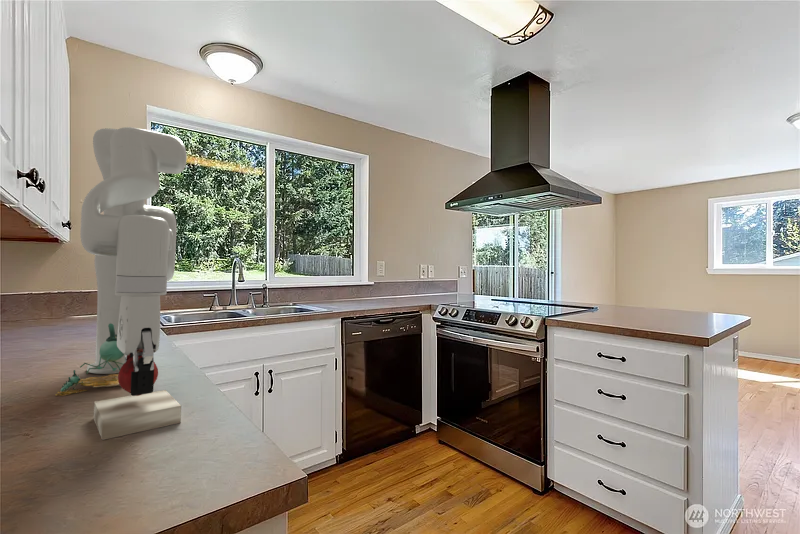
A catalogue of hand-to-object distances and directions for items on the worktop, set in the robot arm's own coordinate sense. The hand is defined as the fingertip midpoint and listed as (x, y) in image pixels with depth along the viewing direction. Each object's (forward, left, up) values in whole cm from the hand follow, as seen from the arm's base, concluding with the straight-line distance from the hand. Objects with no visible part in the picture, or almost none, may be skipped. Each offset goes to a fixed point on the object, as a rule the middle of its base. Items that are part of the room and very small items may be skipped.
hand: (138, 388), depth 69 cm
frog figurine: (-27, -1, -6) cm, 28 cm away
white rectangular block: (0, 0, -6) cm, 6 cm away
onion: (0, 0, -2) cm, 2 cm away
